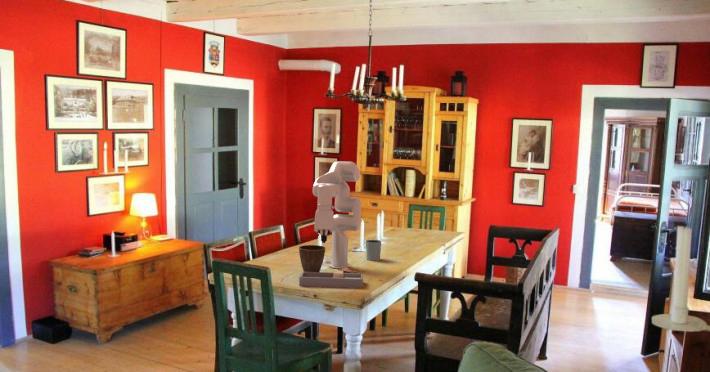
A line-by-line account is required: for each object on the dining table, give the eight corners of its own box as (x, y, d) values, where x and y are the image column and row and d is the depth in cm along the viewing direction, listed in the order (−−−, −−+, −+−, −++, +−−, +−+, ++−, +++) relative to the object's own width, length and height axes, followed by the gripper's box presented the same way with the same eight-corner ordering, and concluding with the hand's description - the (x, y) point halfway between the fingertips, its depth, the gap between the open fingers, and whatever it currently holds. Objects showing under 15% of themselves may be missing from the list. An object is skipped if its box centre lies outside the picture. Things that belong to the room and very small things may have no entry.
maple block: (333, 278, 302) (334, 270, 302) (343, 278, 302) (343, 270, 302) (333, 280, 297) (333, 272, 297) (342, 280, 297) (342, 273, 297)
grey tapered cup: (379, 261, 355) (380, 242, 354) (363, 260, 357) (364, 241, 356) (381, 258, 365) (382, 240, 364) (366, 257, 367) (367, 239, 366)
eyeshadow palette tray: (302, 279, 306) (302, 271, 306) (362, 281, 305) (363, 273, 305) (299, 285, 295) (299, 277, 294) (362, 287, 293) (362, 279, 293)
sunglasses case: (349, 279, 308) (343, 269, 309) (338, 285, 310) (332, 274, 311) (357, 272, 326) (352, 262, 326) (347, 277, 327) (342, 267, 328)
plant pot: (305, 271, 326) (306, 243, 324) (329, 274, 320) (329, 246, 319) (293, 276, 312) (294, 248, 311) (318, 280, 307) (318, 251, 305)
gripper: (339, 207, 300) (338, 241, 301) (311, 206, 300) (310, 240, 302) (338, 209, 292) (337, 244, 294) (309, 208, 293) (308, 243, 294)
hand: (323, 242), depth 298 cm, fingers closed
